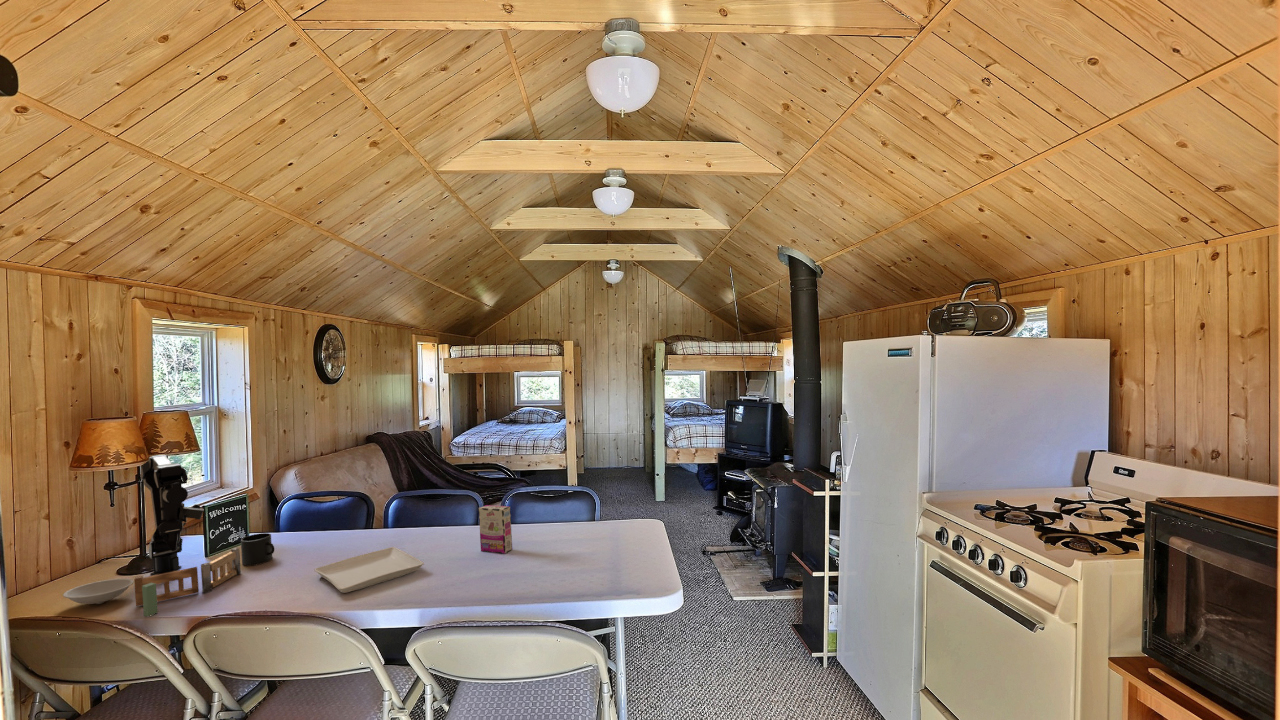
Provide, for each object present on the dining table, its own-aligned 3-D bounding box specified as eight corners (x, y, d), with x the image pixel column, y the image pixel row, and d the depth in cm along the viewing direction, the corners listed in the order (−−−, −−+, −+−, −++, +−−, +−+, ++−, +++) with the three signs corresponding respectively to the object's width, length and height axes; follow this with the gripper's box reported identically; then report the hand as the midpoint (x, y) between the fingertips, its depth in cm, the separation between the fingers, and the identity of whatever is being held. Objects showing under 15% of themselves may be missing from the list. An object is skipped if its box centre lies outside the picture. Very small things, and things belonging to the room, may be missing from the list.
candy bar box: (513, 549, 216) (511, 506, 216) (505, 554, 212) (503, 509, 211) (488, 546, 220) (486, 504, 220) (480, 551, 216) (477, 507, 215)
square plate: (394, 555, 217) (393, 545, 217) (425, 573, 197) (425, 562, 197) (314, 577, 198) (313, 566, 198) (340, 600, 178) (339, 588, 178)
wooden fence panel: (200, 593, 188) (198, 565, 188) (235, 573, 204) (234, 547, 204) (208, 592, 188) (206, 565, 188) (242, 572, 204) (240, 547, 204)
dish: (49, 615, 176) (48, 599, 175) (90, 595, 190) (89, 580, 190) (110, 611, 177) (109, 595, 177) (147, 591, 191) (146, 576, 191)
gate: (198, 590, 188) (197, 565, 188) (198, 592, 187) (196, 566, 187) (136, 604, 180) (135, 577, 179) (136, 606, 178) (134, 579, 178)
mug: (264, 566, 210) (263, 541, 210) (235, 565, 212) (234, 541, 212) (284, 556, 219) (283, 533, 219) (256, 556, 221) (255, 532, 221)
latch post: (153, 612, 175) (151, 582, 174) (157, 613, 174) (155, 583, 173) (143, 615, 172) (141, 585, 172) (148, 616, 171) (146, 586, 171)
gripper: (199, 500, 194) (203, 547, 193) (202, 494, 209) (206, 537, 209) (156, 507, 188) (160, 555, 187) (163, 500, 203) (166, 545, 202)
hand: (175, 548), depth 196 cm, fingers open, 9 cm apart
